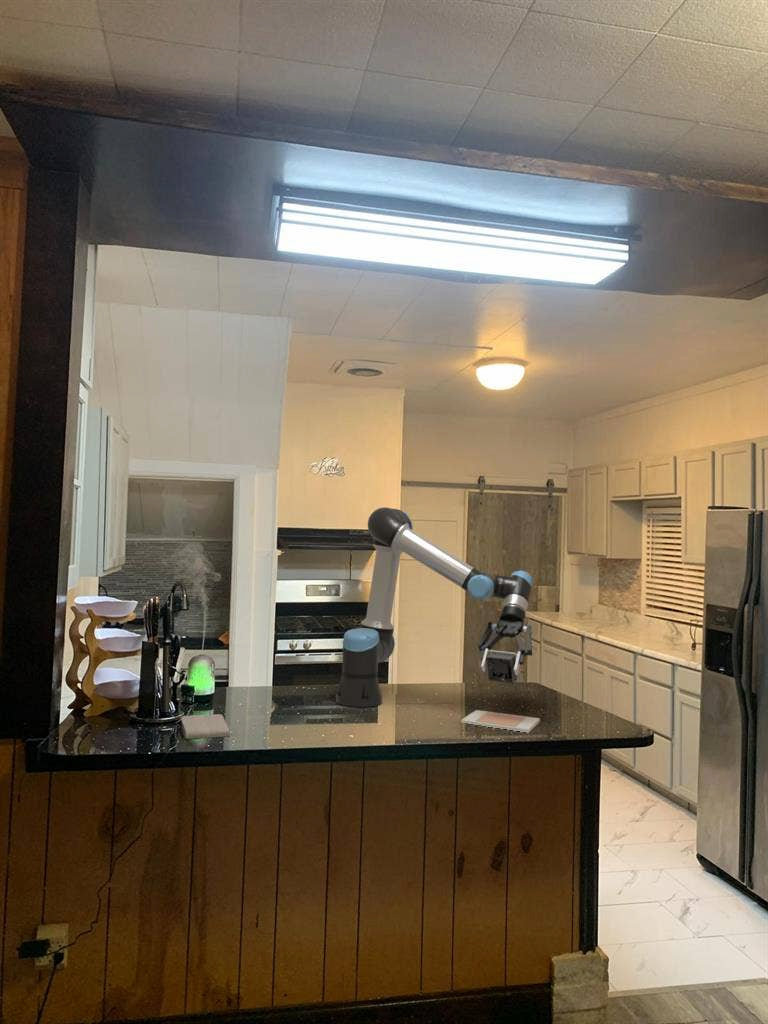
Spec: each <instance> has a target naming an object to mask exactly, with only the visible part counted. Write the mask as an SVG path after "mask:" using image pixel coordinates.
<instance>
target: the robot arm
mask: <svg viewBox="0 0 768 1024" xmlns="http://www.w3.org/2000/svg"><path fill="white" fill-rule="evenodd" d="M367 529H368V532H369V535H370V536H371V537H372V538H373V541H372V546H373V547H374V550H375V558H374V564H373V565H374V566H373V571H372V576H371V577H372V578H371V584H370V591H369V597H368V603H367V611H366V616H365V618H364V619H363V620H362V621H361V622H360V626H359V627H358V628H351V629H348V630H347V631H345V633H344V634H343V640H342V667H341V673H342V675H341V680H340V684H339V685H338V688H337V692H336V694H335V702H336V704H339V705H342V706H346V707H351V708H352V707H354V708H368V707H376V706H379V705H381V704H383V695H382V694H383V693H382V691H381V686H380V684H379V680H378V673H379V672H378V670H379V665H378V664H381V663H384V662H385V661H386V660H388V659H389V658H390V657H391V656H392V654H393V653H394V650H395V646H396V641H395V637H394V629H395V627H394V625H393V623H392V621H391V620H392V615H393V614H392V613H393V607H394V600H395V593H396V588H397V587H396V586H397V581H398V575H399V567H400V560H401V555H402V554H403V553H405V554H406V555H408V556H410V557H411V558H413V559H414V560H416V561H418V562H419V563H421V564H422V565H424V566H425V567H427V568H429V569H431V570H432V571H433V572H435V573H437V574H438V575H440V576H442V577H443V578H445V579H447V580H448V581H450V582H452V583H453V584H454V585H457V586H458V587H459V588H461V589H462V590H464V591H465V592H467V593H468V594H469V595H470V597H472V598H473V599H475V600H480V601H484V600H487V599H488V598H497V599H503V600H504V601H503V604H502V607H501V612H500V617H499V619H498V622H497V623H493V622H491V621H489V622H488V623H487V627H486V629H485V630H484V633H483V634H482V636H481V638H480V639H479V641H478V643H477V648H478V651H479V652H481V653H480V660H481V661H482V662H481V665H480V667H481V670H482V672H486V670H487V668H488V667H487V658H486V657H487V656H488V651H489V650H492V649H493V648H494V646H495V645H496V644H497V643H498V642H499V641H500V640H503V638H511V639H512V638H514V639H515V641H516V645H517V647H518V649H519V651H517V653H516V654H517V658H516V662H515V666H514V672H515V675H518V672H519V673H520V667H521V665H522V666H523V665H524V664H525V660H526V657H527V656H529V657H531V656H533V647H532V634H533V628H532V625H530V624H528V625H527V626H525V625H524V623H525V620H526V619H525V618H526V615H527V611H528V607H529V606H528V605H529V601H530V598H531V594H532V591H533V585H534V584H533V581H534V579H533V577H532V576H531V574H529V573H528V572H527V571H525V570H518V571H514V572H512V573H511V575H510V576H509V575H508V576H507V575H501V574H495V573H488V572H482V571H480V570H478V569H476V568H474V567H473V566H472V565H470V564H468V563H467V562H465V561H463V560H461V559H460V558H459V557H457V556H456V555H454V554H452V553H451V552H449V551H447V550H445V549H444V548H442V547H441V546H439V545H437V544H436V543H434V542H432V541H430V540H429V539H427V538H426V537H425V536H423V535H421V534H419V533H417V532H416V531H414V530H413V521H412V519H411V517H410V516H409V515H408V514H407V513H406V512H405V511H403V510H401V509H397V508H391V507H379V508H377V509H375V510H374V511H373V512H372V513H371V514H370V515H369V517H368V520H367ZM495 630H496V632H495ZM523 631H524V633H525V637H526V638H525V639H526V648H525V646H524V644H523V642H522V639H521V637H520V635H519V634H521V633H522V632H523ZM493 632H495V633H494V634H493Z"/></svg>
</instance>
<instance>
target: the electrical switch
mask: <svg viewBox="0 0 768 1024" xmlns="http://www.w3.org/2000/svg"><path fill="white" fill-rule="evenodd" d="M517 654H518V653H517V652H514V651H513V652H512V651H503V650H497V649H496V650H495V649H490V650H489V651H488V656H487V657H486V658H487V667H486V668H487V673H488V675H487V676H488V681H491V682H498V683H504V684H512V685H513V684H514V683H519V681H520V680H521V679H520V671H519V672H518V675H515V672H514V666H515V662H516V658H517Z"/></svg>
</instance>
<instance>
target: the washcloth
mask: <svg viewBox="0 0 768 1024" xmlns="http://www.w3.org/2000/svg"><path fill="white" fill-rule="evenodd" d="M180 721H181V729H182V734H183V736H184V739H186V740H196V739H195V738H199V739H206V738H207V739H209V738H210V739H214V738H226V737H227V738H228V737H230V736H231V732H230V728H229V726H228V725H227V722H226V720H225V717H224V716H223V714H221V713H220V714H218V713H216V714H208V715H202V714H201V715H200V714H199V715H198V714H191V715H183V716H181V718H180Z"/></svg>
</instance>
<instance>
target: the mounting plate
mask: <svg viewBox="0 0 768 1024" xmlns="http://www.w3.org/2000/svg"><path fill="white" fill-rule="evenodd" d="M460 721H461V722H460V724H461V723H468V724H474V725H481V726H486V727H485V728H488V727H493V728H492V729H495V728H500V729H499V730H502V729H507V730H506V731H509V730H513V731H512V732H516V731H520V732H519V733H523V732H526V733H525V734H529V733H530V732H531V731H532V730H533V729H534V728H536V726H537V725H538V724H539V723H540V722H541V719H540V717H539V718H538V717H532V716H525V715H517V714H509V713H508V714H507V713H502V712H501V713H500V712H493V711H486V710H478V709H475V710H474V711H472V712H471V713H469V714H468V715H466V716H465V717H464V718H462V719H461V720H460ZM474 725H473V726H474ZM481 726H480V727H481Z"/></svg>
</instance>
